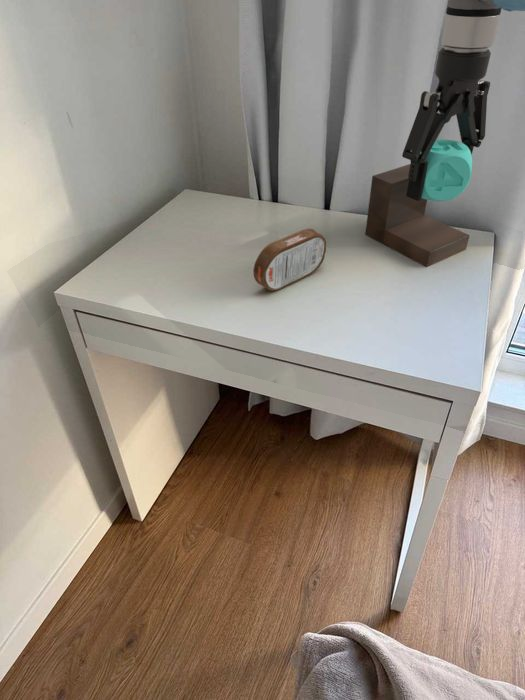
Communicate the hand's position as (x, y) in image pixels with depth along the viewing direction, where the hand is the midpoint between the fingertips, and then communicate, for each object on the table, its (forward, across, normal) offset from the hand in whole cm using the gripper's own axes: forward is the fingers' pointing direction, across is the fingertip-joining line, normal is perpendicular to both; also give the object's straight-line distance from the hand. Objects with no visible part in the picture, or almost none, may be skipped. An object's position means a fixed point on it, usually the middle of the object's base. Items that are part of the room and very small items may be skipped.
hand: (435, 190), depth 89 cm
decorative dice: (+1, 0, 0) cm, 1 cm away
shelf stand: (+11, 0, -2) cm, 12 cm away
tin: (+11, +28, -6) cm, 31 cm away
